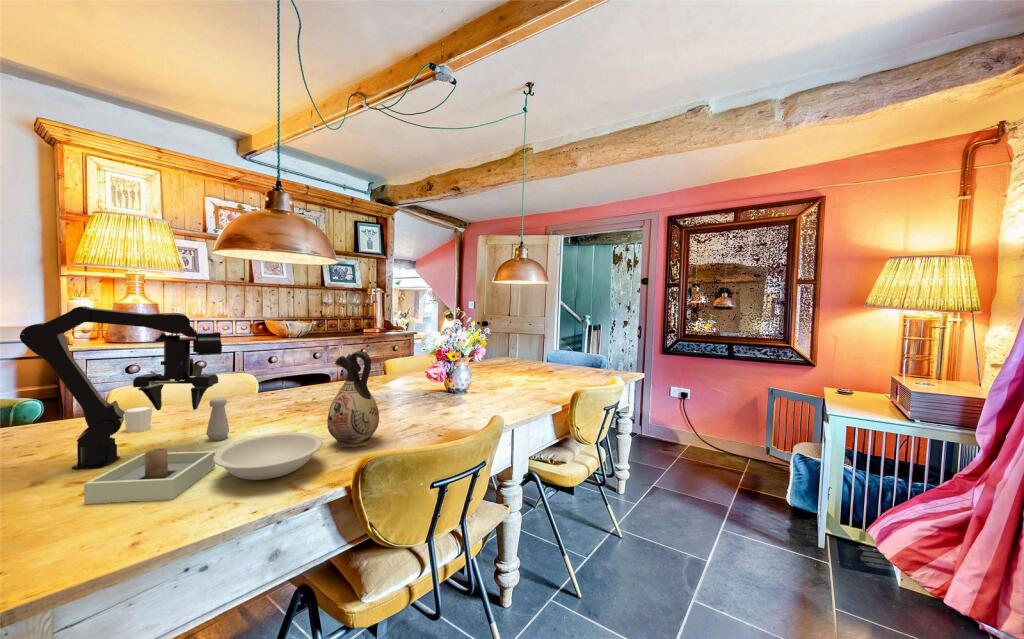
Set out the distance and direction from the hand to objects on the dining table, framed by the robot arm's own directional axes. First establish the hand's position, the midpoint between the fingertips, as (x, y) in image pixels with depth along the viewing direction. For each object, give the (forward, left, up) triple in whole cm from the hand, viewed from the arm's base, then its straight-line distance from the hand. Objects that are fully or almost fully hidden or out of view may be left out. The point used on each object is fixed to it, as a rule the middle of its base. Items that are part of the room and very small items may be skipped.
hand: (177, 409), depth 112 cm
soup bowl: (+32, -18, -12) cm, 39 cm away
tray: (+9, -22, -12) cm, 26 cm away
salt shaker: (+6, +9, -12) cm, 16 cm away
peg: (+9, -22, -12) cm, 26 cm away
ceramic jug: (+49, +1, -12) cm, 51 cm away
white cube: (-23, +20, -12) cm, 33 cm away
